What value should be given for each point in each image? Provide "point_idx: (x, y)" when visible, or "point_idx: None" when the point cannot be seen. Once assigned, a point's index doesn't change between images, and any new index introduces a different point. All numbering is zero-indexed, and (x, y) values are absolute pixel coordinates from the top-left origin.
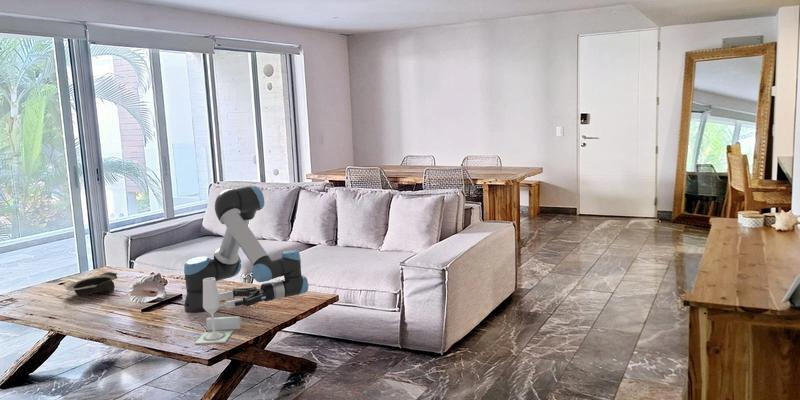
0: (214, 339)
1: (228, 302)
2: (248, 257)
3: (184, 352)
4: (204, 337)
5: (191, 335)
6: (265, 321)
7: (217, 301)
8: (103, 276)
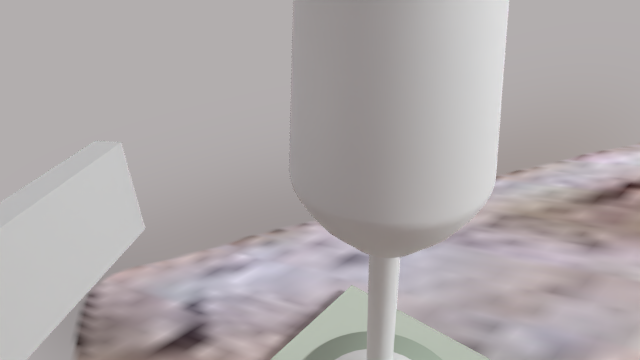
0: None
1: (72, 167)
2: None
3: (285, 239)
4: (408, 346)
5: (542, 323)
6: None
7: (298, 132)
8: None
